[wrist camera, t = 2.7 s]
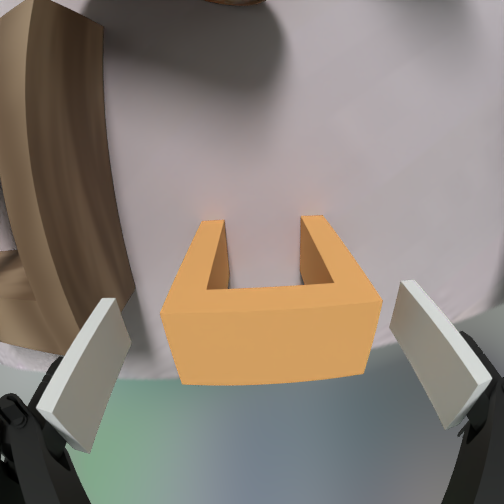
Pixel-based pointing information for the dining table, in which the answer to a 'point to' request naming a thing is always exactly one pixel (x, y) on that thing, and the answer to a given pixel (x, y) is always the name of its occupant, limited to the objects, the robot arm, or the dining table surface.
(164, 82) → the dining table surface
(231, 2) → the tin
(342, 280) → the orange u-shaped bracket
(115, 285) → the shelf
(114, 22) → the dining table surface
